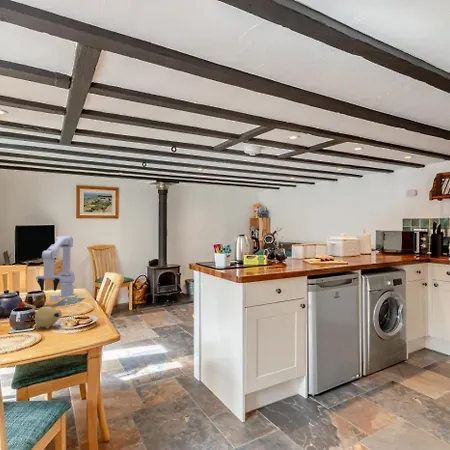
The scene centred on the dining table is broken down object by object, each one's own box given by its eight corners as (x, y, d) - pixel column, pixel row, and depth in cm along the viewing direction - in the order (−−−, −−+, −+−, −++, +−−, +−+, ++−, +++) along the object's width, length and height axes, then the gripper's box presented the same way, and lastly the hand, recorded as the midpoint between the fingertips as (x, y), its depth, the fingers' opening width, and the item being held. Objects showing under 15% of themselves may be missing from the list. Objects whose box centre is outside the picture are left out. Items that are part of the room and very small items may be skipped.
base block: (69, 302, 208) (69, 295, 208) (76, 302, 209) (76, 295, 209) (67, 304, 204) (67, 297, 204) (74, 303, 204) (74, 297, 204)
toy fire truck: (40, 322, 167) (40, 304, 167) (17, 321, 168) (17, 303, 168) (45, 320, 170) (45, 302, 170) (21, 319, 172) (21, 302, 172)
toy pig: (58, 329, 156) (58, 308, 156) (31, 331, 153) (31, 309, 153) (63, 323, 165) (63, 303, 165) (38, 325, 162) (38, 304, 162)
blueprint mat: (64, 298, 219) (64, 298, 219) (85, 298, 220) (85, 297, 220) (52, 306, 199) (52, 305, 199) (75, 305, 201) (75, 305, 201)
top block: (53, 300, 215) (53, 294, 215) (59, 300, 215) (60, 293, 215) (50, 302, 210) (50, 295, 210) (57, 302, 211) (57, 295, 211)
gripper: (33, 270, 194) (33, 292, 194) (58, 270, 196) (58, 291, 196) (39, 268, 201) (39, 289, 201) (62, 268, 203) (62, 289, 203)
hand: (48, 290), depth 199 cm, fingers open, 7 cm apart
